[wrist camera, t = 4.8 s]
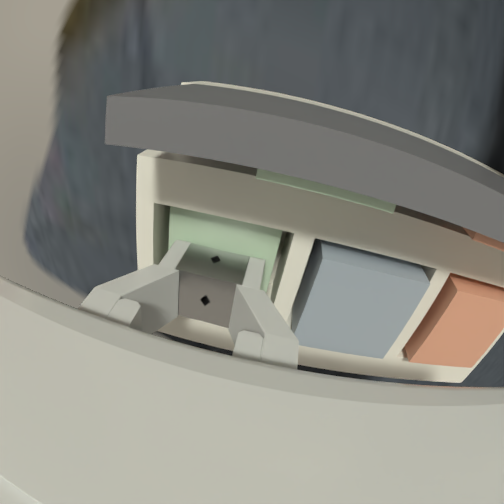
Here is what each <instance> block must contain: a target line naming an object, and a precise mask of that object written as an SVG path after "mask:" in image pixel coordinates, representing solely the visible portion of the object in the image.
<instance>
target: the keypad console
mask: <svg viewBox="0 0 504 504" xmlns="http://www.w3.org/2000/svg"><path fill="white" fill-rule="evenodd" d="M105 144H109V145H118V146H126V147H134V148H142V149H147V150H146V151H144V152H142V153H140V154H138V155H137V182H136V233H137V262H138V270H140V269H143V268H145V267H148V266H150V265H153V264H157V265H159V263H160V262H161V260H162V259H163V258H164V256H165V255H166V253H167V252H168V247H169V222H170V206H173V207H178V208H182V209H187V210H192V211H197V212H201V213H206V214H211V215H215V216H220V217H225V218H229V219H234V220H238V221H243V222H247V223H252V224H256V225H261V226H265V227H270V228H274V229H278V230H283V231H282V235H281V239H280V243H279V247H278V251H277V254H276V258H275V262H274V266H273V270H272V273H271V277H270V281H269V285H268V288H267V292H266V294H267V295H268V297H269V298H270V300H271V301H272V303H273V304H274V305H275V307H276V308H277V310H278V311H279V313H280V314H281V316H282V317H283V319H284V320H285V322H286V323H287V324H288V326H289V327H290V329H292V314H293V304H294V302H295V299H296V296H297V293H298V290H299V287H300V284H301V281H302V278H303V275H304V272H305V270H306V267H307V264H308V260H309V257H310V254H311V251H312V248H313V245H314V242H315V239H316V238H317V239H321V240H325V241H329V242H333V243H338V244H342V245H346V246H350V247H354V248H358V249H362V250H366V251H370V252H374V253H378V254H382V255H386V256H390V257H393V258H397V259H401V260H405V261H409V262H413V263H416V264H420V265H421V266H422V268H423V270H424V272H425V274H426V276H427V278H428V280H429V282H430V286H429V287H428V289H427V291H426V293H425V294H424V296H423V298H422V299H421V301H420V303H419V304H418V306H417V308H416V309H415V311H414V313H413V314H412V316H411V317H410V319H409V321H408V322H407V324H406V325H405V327H404V328H403V330H402V332H401V333H400V335H399V336H398V338H397V339H396V341H395V342H394V344H393V345H392V346H391V348H390V349H389V351H388V352H387V354H386V355H385V356H384V358H383V359H380V358H373V357H366V356H359V355H353V354H346V353H340V352H334V351H328V350H323V349H317V348H311V347H306V346H301V345H299V349H298V365H303V366H309V367H315V368H321V369H327V370H334V371H340V372H347V373H355V374H362V375H370V376H379V377H388V378H398V379H409V380H422V381H437V382H457V383H461V382H462V381H463V380H464V379H465V378H466V377H467V376H468V375H469V374H470V372H471V371H472V370H473V369H474V368H475V367H476V366H477V365H478V363H479V362H480V361H481V360H482V359H483V357H484V356H485V355H486V354H487V353H488V351H489V350H490V349H491V348H492V347H493V345H494V344H495V343H496V342H497V340H498V339H499V338H500V336H501V335H502V334H503V332H504V328H503V330H502V331H501V332H500V334H499V335H498V336H497V338H496V339H495V340H494V342H493V343H492V344H491V345H490V347H489V348H488V349H487V350H486V352H485V353H484V354H483V355H482V356H481V358H480V359H479V360H478V361H477V362H476V363H475V365H474V366H473V367H472V368H467V367H454V366H442V365H431V364H421V363H412V362H409V361H408V357H407V353H406V349H405V344H406V343H407V342H408V340H409V339H410V337H411V336H412V334H413V333H414V331H415V330H416V328H417V327H418V325H419V324H420V322H421V321H422V319H423V318H424V316H425V315H426V313H427V312H428V310H429V308H430V307H431V305H432V304H433V302H434V300H435V299H436V297H437V295H438V294H439V292H440V290H441V288H442V287H443V285H444V283H445V282H446V280H447V278H448V276H449V274H450V273H454V274H457V275H461V276H464V277H468V278H472V279H475V280H479V281H482V282H486V283H489V284H493V285H496V286H500V287H503V288H504V174H502V173H500V172H498V171H497V170H495V169H493V168H491V167H489V166H487V165H485V164H483V163H481V162H479V161H477V160H475V159H473V158H471V157H469V156H467V155H465V154H463V153H461V152H459V151H456V150H454V149H452V148H450V147H448V146H445V145H443V144H441V143H438V142H436V141H434V140H431V139H429V138H426V137H424V136H421V135H419V134H416V133H414V132H411V131H409V130H406V129H403V128H401V127H398V126H395V125H392V124H389V123H387V122H384V121H381V120H378V119H375V118H372V117H369V116H365V115H362V114H359V113H356V112H352V111H349V110H346V109H342V108H339V107H335V106H331V105H328V104H324V103H320V102H316V101H312V100H308V99H304V98H299V97H295V96H290V95H286V94H281V93H276V92H271V91H266V90H260V89H254V88H249V87H242V86H236V85H229V84H222V83H214V82H205V81H196V82H182V83H181V85H176V86H167V87H159V88H152V89H145V90H138V91H132V92H126V93H120V94H115V95H110V96H107V106H106V125H105ZM157 331H159V332H162V333H166V334H169V335H173V336H176V337H180V338H184V339H187V340H191V341H195V342H198V343H202V344H206V345H210V346H214V347H218V348H222V349H226V350H231V351H234V347H235V345H234V343H233V340H232V338H231V335H230V333H229V330H228V328H226V327H222V326H218V325H215V324H211V323H207V322H204V321H200V320H195V319H191V318H187V317H183V316H179V315H178V317H176V318H175V319H173V320H172V321H170V322H169V323H167V324H166V325H164V326H163V327H162V328H160V329H159V330H157Z"/></svg>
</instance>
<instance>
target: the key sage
mask: <svg viewBox="0 0 504 504" xmlns="http://www.w3.org/2000/svg"><path fill="white" fill-rule="evenodd" d="M282 231H283V230H278V229H274V228H270V227H265V226H261V225H256V224H252V223H247V222H243V221H238V220H234V219H229V218H225V217H220V216H215V215H211V214H206V213H201V212H197V211H192V210H187V209H182V208H178V207H173V206H170V222H169V247H168V250H169V249H170V247H171V246H172V245H173V243H174V242H175V241H176V240H183V241H187V242H191V243H195V244H199V245H203V246H207V247H211V248H215V249H219V250H221V251H226V252H231V253H236V254H240V255H245V256H251V257H256V258H261V259H265V260H266V262H265V267H264V272H263V277H262V282H261V287H260V290H264V291H265V292H267V288H268V285H269V281H270V277H271V273H272V270H273V266H274V262H275V258H276V254H277V251H278V247H279V243H280V239H281V235H282Z"/></svg>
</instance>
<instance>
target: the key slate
mask: <svg viewBox="0 0 504 504" xmlns="http://www.w3.org/2000/svg"><path fill="white" fill-rule="evenodd" d="M429 286H430V282H429V280H428V278H427V276H426V274H425V272H424V270H423V268H422V266H421V265H420V264H416V263H413V262H409V261H405V260H401V259H397V258H393V257H390V256H386V255H382V254H378V253H374V252H370V251H366V250H362V249H358V248H354V247H350V246H346V245H342V244H338V243H333V242H329V241H325V240H321V239H317V238H316V239H315V242H314V245H313V248H312V251H311V254H310V257H309V260H308V264H307V267H306V270H305V272H304V275H303V278H302V281H301V284H300V287H299V290H298V293H297V296H296V299H295V302H294V304H293V314H292V329H291V330H292V332H293V333H294V335H295V336H296V338H297V339H298V340H299V345H301V346H306V347H311V348H317V349H323V350H328V351H334V352H340V353H346V354H353V355H359V356H366V357H373V358H380V359H383V358H384V356H385V355H386V354H387V352H388V351H389V349H390V348H391V346H392V345H393V344H394V342H395V341H396V339H397V338H398V336H399V335H400V333H401V332H402V330H403V328H404V327H405V325H406V324H407V322H408V321H409V319H410V317H411V316H412V314H413V313H414V311H415V309H416V308H417V306H418V304H419V303H420V301H421V299H422V298H423V296H424V294H425V293H426V291H427V289H428V287H429Z"/></svg>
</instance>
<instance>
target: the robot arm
mask: <svg viewBox="0 0 504 504" xmlns="http://www.w3.org/2000/svg"><path fill="white" fill-rule="evenodd" d="M265 262H266V260H265V259H261V258H256V257H251V256H245V255H240V254H236V253H231V252H226V251H221V250H219V249H215V248H211V247H207V246H203V245H199V244H195V243H191V242H187V241H183V240H176V241H175V242H174V243H173V245H172V246H171V247H170V249H169V250H168V252H167V253H166V255H165V256H164V258H163V259H162V260H161V262H160V263H159V265H157V264H153V265H150V266H148V267H145V268H143V269H140V270H137V271H135V272H132V273H130V274H127V275H124V276H122V277H119V278H117V279H114V280H112V281H109V282H107V283H104V284H101V285H99V286H96V287H94V289H93V290H92V291H91V292H90V294H89V295H88V296H87V297H86V299H85V300H84V301H83V302H82V304H81V305H80V306H79V308H78V309H77V308H74V307H72V306H69V305H67V304H64V303H62V302H59V301H57V300H54V299H52V298H49V297H47V296H45V295H42V294H40V293H37V292H35V291H33V290H31V289H28V288H26V287H24V286H22V285H19V284H17V283H15V282H13V281H11V280H9V279H6V278H4V277H2V276H0V504H504V387H447V386H428V385H413V384H401V383H390V382H381V381H372V380H363V379H355V378H348V377H340V376H333V375H326V374H320V373H314V372H308V371H302V370H297V367H298V349H299V340H298V339H297V338H296V336H295V335H294V333H293V332H292V330H291V329H290V327H289V326H288V324H287V323H286V322H285V320H284V319H283V317H282V316H281V314H280V313H279V311H278V310H277V308H276V307H275V305H274V304H273V303H272V301H271V300H270V298H269V297H268V295H267V294H266V292H265V291H264V290H260V287H261V282H262V277H263V272H264V267H265ZM178 315H179V316H183V317H187V318H191V319H195V320H200V321H204V322H207V323H211V324H215V325H218V326H222V327H226V328H228V330H229V333H230V335H231V338H232V340H233V343H234V345H235V347H234V351H233V354H232V356H230V355H226V354H222V353H218V352H214V351H210V350H206V349H202V348H198V347H195V346H191V345H187V344H183V343H180V342H176V341H173V340H169V339H166V338H162V337H159V336H156V335H153V333H154V332H156V331H157V330H159V329H160V328H162V327H163V326H164V325H166V324H167V323H169V322H170V321H172V320H173V319H175V318H176V317H178Z"/></svg>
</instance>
